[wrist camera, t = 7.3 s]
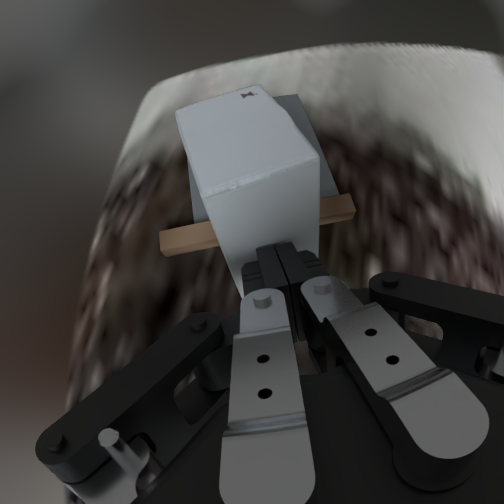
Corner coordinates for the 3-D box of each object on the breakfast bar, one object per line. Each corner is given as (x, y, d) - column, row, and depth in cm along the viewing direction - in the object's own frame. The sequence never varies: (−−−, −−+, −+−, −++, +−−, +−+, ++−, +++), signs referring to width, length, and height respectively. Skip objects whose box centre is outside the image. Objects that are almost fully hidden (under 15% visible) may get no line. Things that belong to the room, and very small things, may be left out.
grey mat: (297, 97, 29) (297, 94, 28) (338, 197, 24) (339, 194, 24) (184, 118, 29) (183, 115, 28) (195, 225, 24) (194, 223, 24)
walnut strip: (346, 201, 24) (349, 193, 23) (352, 218, 23) (356, 210, 22) (164, 238, 24) (159, 231, 23) (165, 257, 23) (160, 250, 22)
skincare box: (226, 255, 23) (171, 108, 13) (283, 235, 23) (262, 80, 13) (253, 332, 19) (197, 195, 10) (318, 307, 20) (326, 153, 10)
